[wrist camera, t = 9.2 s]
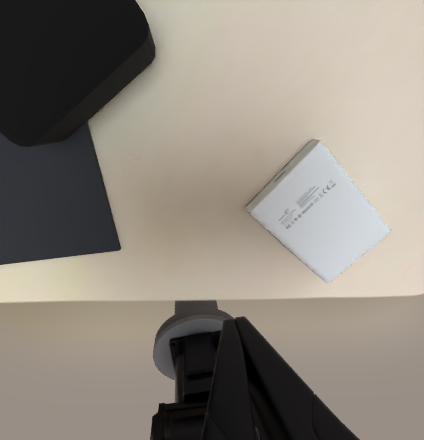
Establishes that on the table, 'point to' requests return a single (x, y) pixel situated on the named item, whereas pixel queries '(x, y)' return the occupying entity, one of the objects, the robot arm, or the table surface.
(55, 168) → the mat
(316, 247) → the hard drive
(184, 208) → the table surface
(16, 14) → the electronic device
